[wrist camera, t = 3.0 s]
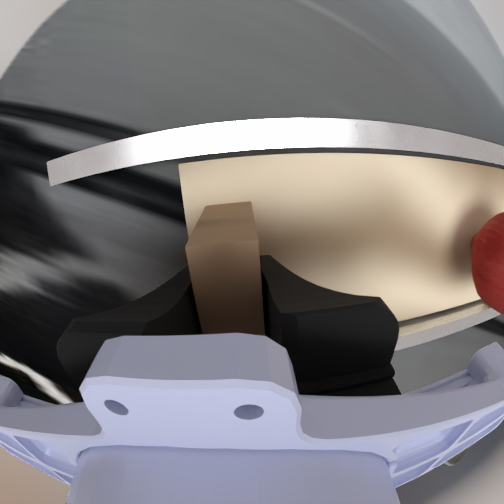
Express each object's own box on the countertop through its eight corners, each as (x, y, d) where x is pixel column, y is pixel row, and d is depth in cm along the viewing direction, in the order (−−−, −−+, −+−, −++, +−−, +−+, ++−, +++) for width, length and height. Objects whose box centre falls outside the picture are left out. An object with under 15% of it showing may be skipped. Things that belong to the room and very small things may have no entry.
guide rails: (490, 304, 16) (500, 314, 15) (122, 357, 16) (115, 374, 14) (517, 152, 11) (531, 156, 10) (64, 158, 11) (46, 161, 10)
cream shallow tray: (488, 292, 16) (528, 327, 11) (210, 340, 15) (202, 416, 10) (510, 170, 12) (564, 189, 7) (180, 163, 12) (138, 179, 7)
